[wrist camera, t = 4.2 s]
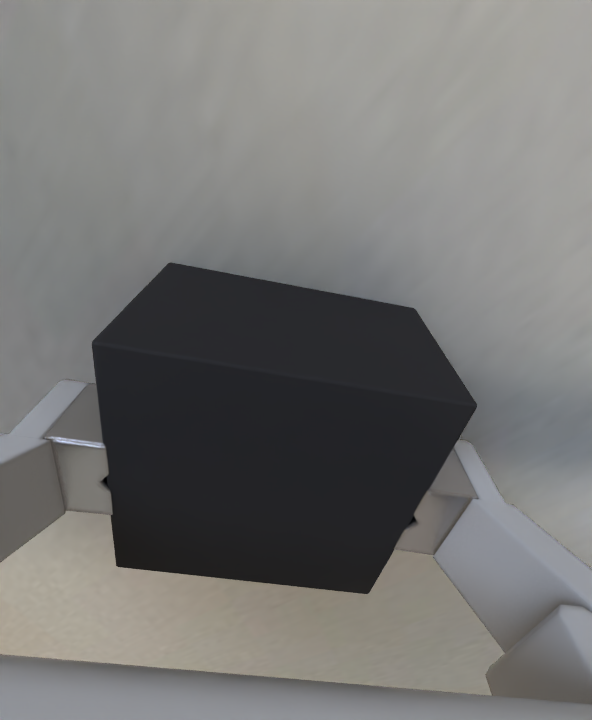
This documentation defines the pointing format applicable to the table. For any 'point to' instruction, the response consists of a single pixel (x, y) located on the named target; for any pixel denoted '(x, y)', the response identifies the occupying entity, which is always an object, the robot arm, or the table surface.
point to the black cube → (269, 429)
